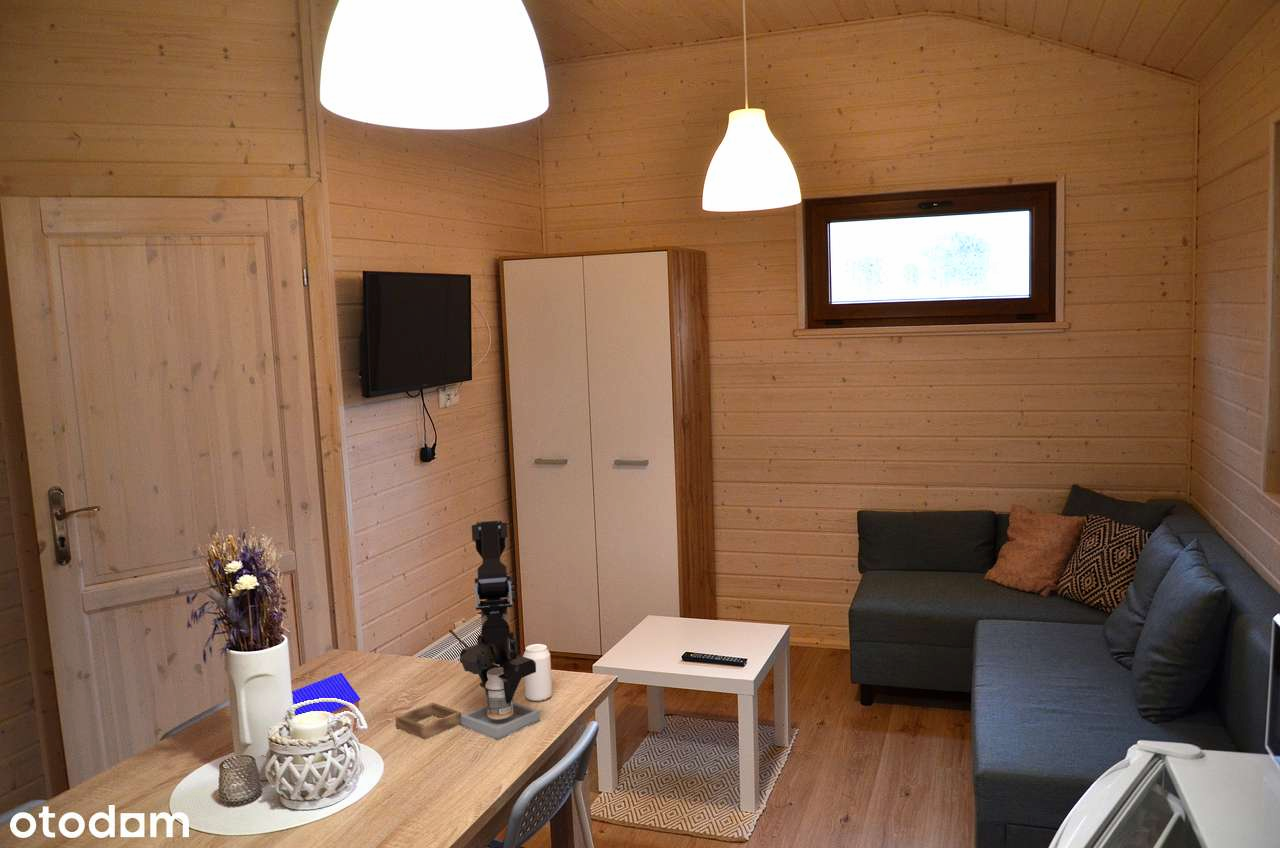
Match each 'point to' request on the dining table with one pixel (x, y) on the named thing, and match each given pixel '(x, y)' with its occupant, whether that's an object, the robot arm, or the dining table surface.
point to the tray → (500, 721)
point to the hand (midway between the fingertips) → (499, 699)
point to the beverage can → (538, 673)
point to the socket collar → (426, 731)
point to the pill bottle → (497, 696)
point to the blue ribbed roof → (327, 696)
